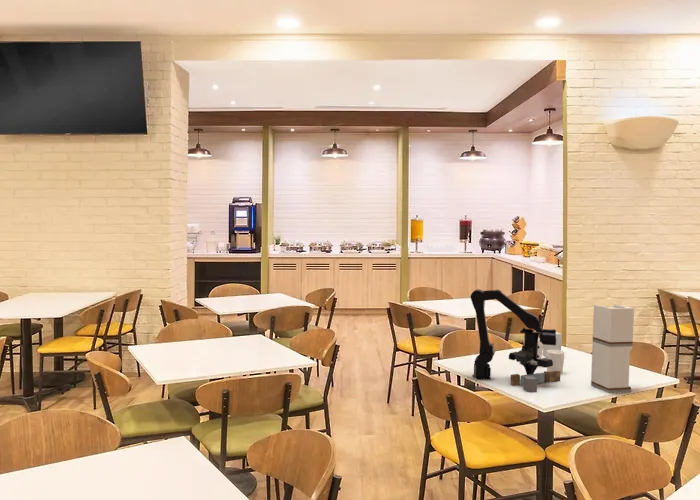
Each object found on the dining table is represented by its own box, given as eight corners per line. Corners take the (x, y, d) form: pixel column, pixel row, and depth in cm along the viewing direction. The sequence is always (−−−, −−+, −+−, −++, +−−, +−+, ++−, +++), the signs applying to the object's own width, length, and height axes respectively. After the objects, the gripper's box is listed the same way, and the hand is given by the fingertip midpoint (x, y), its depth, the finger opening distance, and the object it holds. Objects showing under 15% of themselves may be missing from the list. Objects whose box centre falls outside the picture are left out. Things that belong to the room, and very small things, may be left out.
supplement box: (561, 358, 298) (562, 334, 297) (546, 358, 298) (547, 333, 297) (556, 355, 305) (557, 331, 305) (542, 354, 305) (543, 331, 305)
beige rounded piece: (565, 375, 263) (565, 353, 263) (547, 374, 265) (547, 352, 264) (562, 371, 271) (562, 350, 270) (544, 370, 272) (545, 349, 272)
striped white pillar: (630, 392, 238) (634, 308, 237) (608, 393, 236) (611, 308, 234) (612, 384, 249) (615, 304, 248) (591, 385, 247) (593, 304, 246)
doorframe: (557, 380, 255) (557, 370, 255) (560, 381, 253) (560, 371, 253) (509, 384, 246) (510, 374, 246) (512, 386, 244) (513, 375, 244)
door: (542, 381, 251) (542, 372, 251) (546, 382, 249) (546, 373, 249) (520, 384, 246) (520, 375, 245) (524, 386, 244) (524, 376, 243)
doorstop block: (527, 392, 235) (527, 379, 235) (523, 389, 239) (523, 376, 239) (536, 392, 236) (537, 378, 236) (532, 389, 240) (532, 376, 240)
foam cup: (522, 366, 279) (522, 340, 278) (523, 362, 287) (524, 336, 287) (542, 368, 275) (543, 341, 274) (543, 364, 284) (544, 338, 283)
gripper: (501, 341, 252) (500, 376, 252) (539, 349, 237) (537, 386, 238) (516, 339, 259) (515, 373, 259) (554, 346, 244) (552, 382, 245)
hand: (529, 378), depth 250 cm, fingers closed
